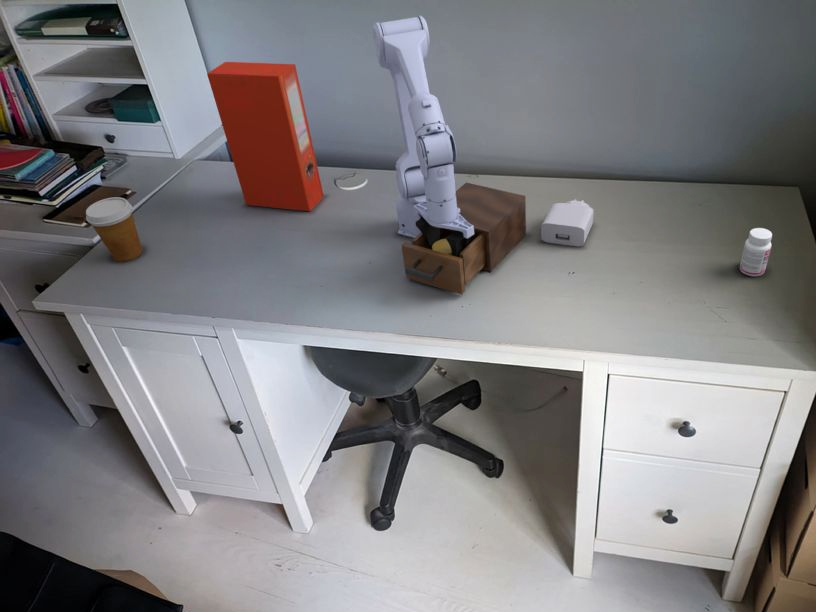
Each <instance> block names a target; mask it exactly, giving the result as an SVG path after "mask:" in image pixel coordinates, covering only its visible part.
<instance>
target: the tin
mask: <svg viewBox="0 0 816 612" xmlns="http://www.w3.org/2000/svg"><path fill="white" fill-rule="evenodd" d="M432 250H434V251H438V252H441V253H445V254H449V255H452V251H451V247H450V245H449V243H448V241H447V240H446V239H442V240H439V241H436V242H435V243H434V244H433V245H432Z"/></svg>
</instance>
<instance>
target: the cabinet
mask: <svg viewBox="0 0 816 612" xmlns="http://www.w3.org/2000/svg"><path fill="white" fill-rule="evenodd" d="M456 201H457V208H460V213H459V214H460V215H461V216H462V217H463V218H464V219H465V220H466V221H467V222H468V223H470V224H471V225H473V226H474V231H475V232H479V233H483V234H486V250H487V264H486V265H485V266H484V267H483V268H482V269H481V270H482V271H487V272H489V273H492V272H493V270H494V269H495V268H497V266H499V264H500V263H501V262H502V261H504V259H505V258H506V257H507V256H508V255H509V254H510V253H511V252H512V251H513V249H514V248H515V247H517V246H518V244H519V243H520V242H521V241H522V240H523V239H524V238H525V237H526V236H527V225H526V224H527V213H526V212H527V207H526V206H527V203H526V195H524V194H520V193H515V192H510V191H506V190H503V189H497V188H492V187H488V186H484V185H480V184H475V183H471V182H465V183H463V184H462V185H461V186H460V187H459V188H458V189H456Z"/></svg>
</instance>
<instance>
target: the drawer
mask: <svg viewBox="0 0 816 612" xmlns="http://www.w3.org/2000/svg"><path fill="white" fill-rule="evenodd" d="M451 233H454V232H453V230H451V229H445V228H440V240H442V239H446V236H448V235H450V234H451ZM401 253H402V258H403V266H404V273H405V277H406V279H410V280H413V281H416V282H420V283H422V284H426V285H428V286H432V287H435V288H439V289H442V290H445V291H449V292H453V293H455V294H459V295H464V294H465V292H466V286H467V285H468V284H469V283H470V282H471V281H472V280H473V279H474V278H475V277H476V276H477V275H478V274H479V273H480V271H481V270H482V268H483V267H484V266H485V265H486V264H487V250H486V234H483V233H479V232H475V231H474V235H472V236H471V238H470V240H469V242H468V244H467V247H466V248H465V249H464V250H463V251H462V252H461V253H460V258H459V257H456V256H452V255H449V254H445V253H441V252H438V251H434V250H431V249H429V247H428V245H427V242H426V240H425V238H424V236H423V234H422V233H420V234H419V235H417V236H416V237H415V238H413V239H411V243H409V242H406V241H405V242H403V243H402V244H401Z"/></svg>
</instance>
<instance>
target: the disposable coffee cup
mask: <svg viewBox="0 0 816 612" xmlns="http://www.w3.org/2000/svg"><path fill="white" fill-rule="evenodd" d="M85 215H86V216H85V220H86V222H88V223H89V224H90V225H91V226H92V228H93V229H94V230H95V232H96V234H97V235H98V237H99V238H100V240H101V241H102V243H103V245H104V246H105V247H106V249H107V251H108V252H109V253H110V255H111V257H112V258H113V260H114V261H116V262H120V263H123V262H130V261H132V260H135V259H137V258H138V257H139V256H141V255H142V253H143V247H142V243H141V241H140V236H139V233H138V229H137V226H136V222H135V219H134V214H133V205H132V204H131V203H130V202H129V201H128V200H127V199H126V198H124V197H120V196H119V197H118V196H116V197H108V198H103V199H101V200H97V201H95V202H94V203H92V204H90V205H89V206H88V207H87V208H86V210H85Z"/></svg>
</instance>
